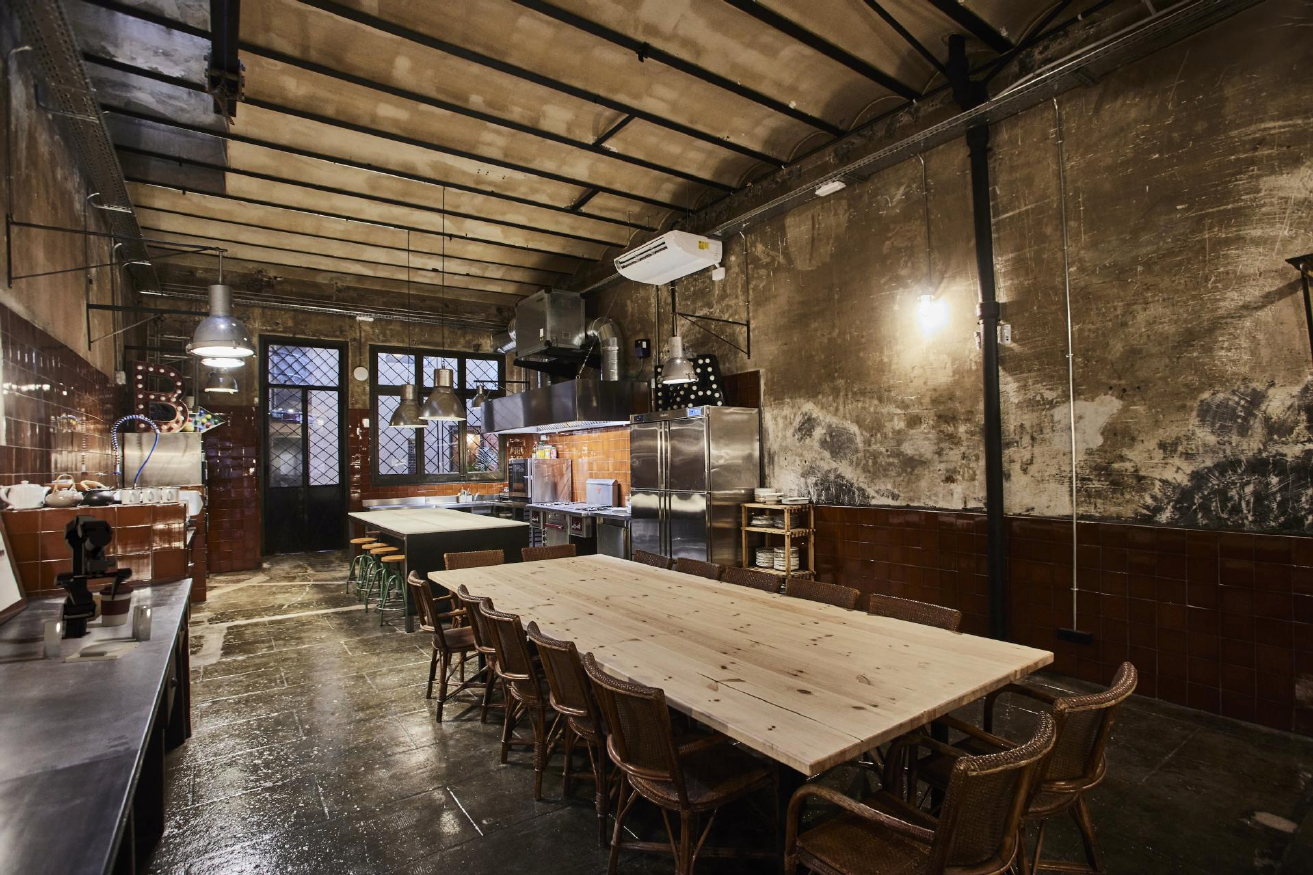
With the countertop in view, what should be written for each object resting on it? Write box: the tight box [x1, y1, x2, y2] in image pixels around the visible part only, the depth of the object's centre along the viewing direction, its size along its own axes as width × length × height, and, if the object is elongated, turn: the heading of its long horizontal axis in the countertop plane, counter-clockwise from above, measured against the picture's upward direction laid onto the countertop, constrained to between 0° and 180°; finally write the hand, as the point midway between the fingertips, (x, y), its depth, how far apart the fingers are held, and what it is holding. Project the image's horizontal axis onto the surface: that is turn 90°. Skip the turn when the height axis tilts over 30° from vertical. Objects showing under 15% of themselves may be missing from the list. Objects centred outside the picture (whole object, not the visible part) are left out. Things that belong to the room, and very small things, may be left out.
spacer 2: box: [131, 604, 149, 640], centre depth 220 cm, size 4×4×11 cm
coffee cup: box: [98, 582, 135, 627], centre depth 237 cm, size 10×10×15 cm
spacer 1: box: [42, 620, 64, 660], centre depth 196 cm, size 4×4×11 cm
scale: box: [64, 641, 141, 663], centre depth 201 cm, size 16×13×2 cm
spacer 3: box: [135, 606, 153, 643], centre depth 217 cm, size 4×4×11 cm
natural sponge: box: [87, 594, 102, 621], centre depth 241 cm, size 9×9×10 cm
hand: (94, 602), depth 203 cm, fingers open, 9 cm apart
